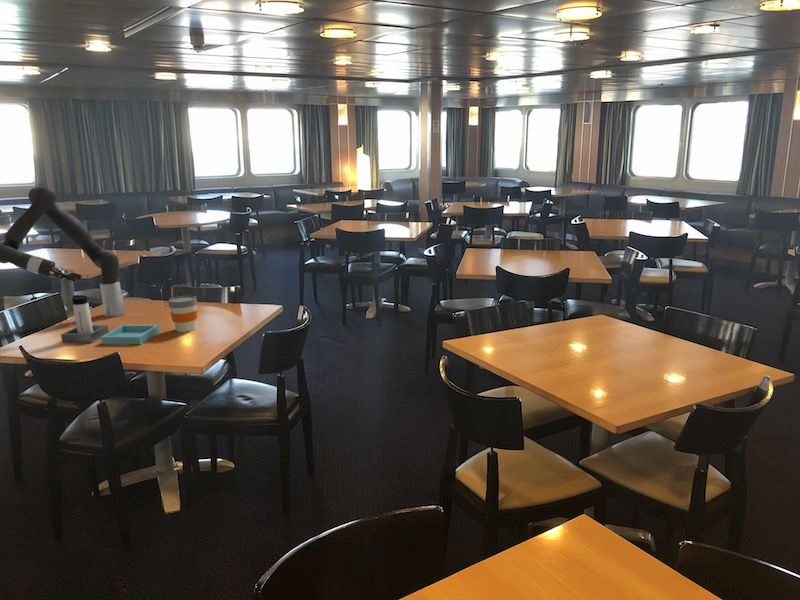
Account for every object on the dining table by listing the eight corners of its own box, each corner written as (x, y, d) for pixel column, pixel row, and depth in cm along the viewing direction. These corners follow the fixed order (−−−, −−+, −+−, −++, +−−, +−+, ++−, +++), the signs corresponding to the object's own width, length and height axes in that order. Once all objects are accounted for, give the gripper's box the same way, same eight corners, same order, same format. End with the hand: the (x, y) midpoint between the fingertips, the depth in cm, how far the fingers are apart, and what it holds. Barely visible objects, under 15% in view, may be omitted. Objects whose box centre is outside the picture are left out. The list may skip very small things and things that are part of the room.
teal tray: (123, 332, 291) (122, 324, 290) (160, 332, 289) (159, 324, 288) (101, 344, 273) (100, 337, 273) (140, 344, 272) (139, 337, 271)
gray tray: (81, 333, 291) (79, 325, 290) (109, 333, 289) (107, 325, 288) (62, 342, 277) (60, 334, 276) (91, 343, 276) (90, 334, 275)
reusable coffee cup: (191, 334, 284) (187, 302, 280) (166, 333, 287) (162, 302, 283) (205, 326, 296) (201, 295, 292) (181, 325, 299) (177, 295, 295)
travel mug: (88, 335, 288) (81, 293, 283) (96, 337, 284) (90, 295, 279) (75, 339, 282) (68, 296, 277) (84, 341, 279) (76, 298, 274)
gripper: (37, 259, 272) (76, 272, 276) (49, 257, 286) (85, 269, 290) (32, 275, 273) (70, 287, 276) (44, 272, 286) (80, 284, 290)
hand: (78, 278), depth 283 cm, fingers open, 8 cm apart
